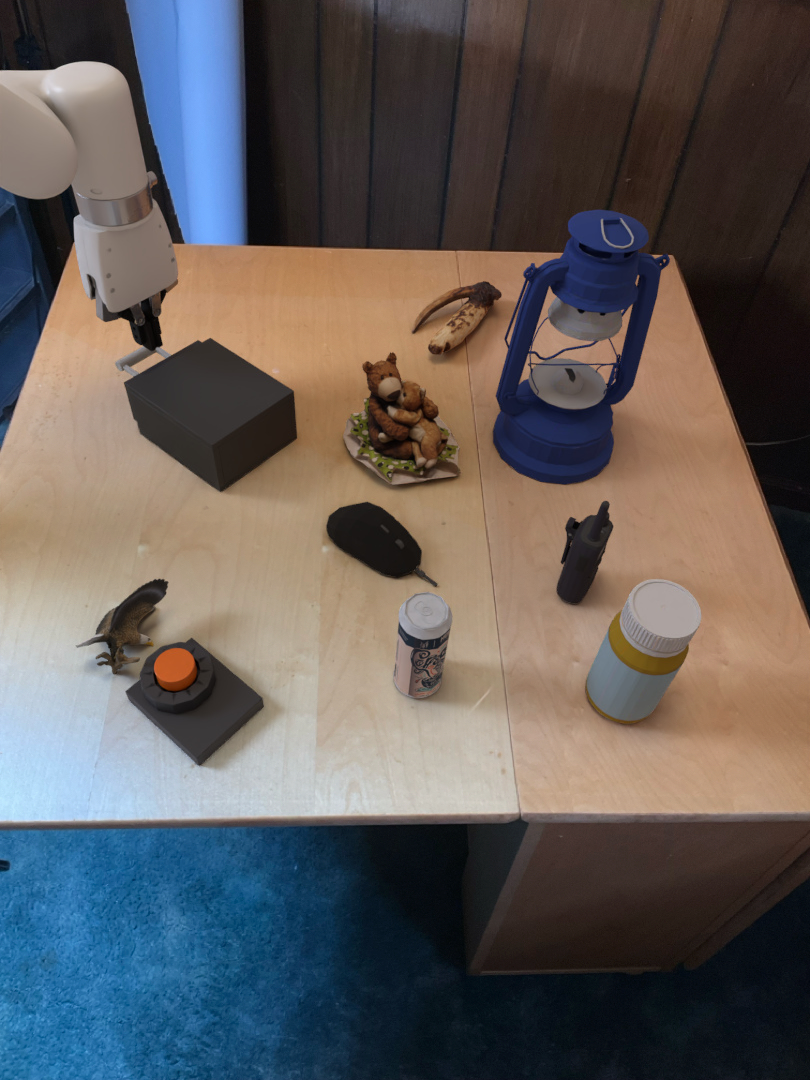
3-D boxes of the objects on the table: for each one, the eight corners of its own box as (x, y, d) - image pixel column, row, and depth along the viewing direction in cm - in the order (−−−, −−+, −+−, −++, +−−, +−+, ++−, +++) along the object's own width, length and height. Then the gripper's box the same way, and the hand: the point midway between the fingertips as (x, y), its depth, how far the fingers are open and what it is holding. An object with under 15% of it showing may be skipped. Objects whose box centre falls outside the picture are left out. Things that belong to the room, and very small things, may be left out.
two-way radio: (578, 612, 86) (614, 519, 74) (540, 594, 87) (569, 500, 75) (596, 576, 89) (633, 482, 77) (559, 559, 90) (590, 464, 78)
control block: (126, 698, 76) (118, 680, 74) (192, 644, 80) (187, 625, 78) (199, 766, 72) (193, 749, 70) (264, 706, 77) (261, 688, 74)
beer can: (418, 710, 77) (428, 643, 68) (382, 679, 79) (387, 610, 70) (451, 678, 80) (464, 609, 70) (415, 649, 81) (424, 578, 72)
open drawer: (103, 397, 101) (92, 360, 97) (174, 356, 107) (167, 319, 103) (207, 472, 94) (200, 436, 90) (277, 424, 100) (274, 388, 96)
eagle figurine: (170, 674, 77) (189, 589, 81) (112, 649, 72) (135, 559, 76) (115, 684, 80) (135, 602, 85) (56, 659, 75) (81, 573, 79)
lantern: (504, 491, 96) (553, 266, 73) (471, 407, 105) (506, 184, 82) (637, 475, 99) (725, 254, 76) (594, 395, 108) (661, 176, 85)
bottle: (612, 651, 83) (656, 561, 71) (668, 697, 80) (723, 611, 68) (569, 690, 79) (607, 603, 68) (625, 740, 76) (675, 658, 65)
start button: (149, 675, 74) (145, 665, 73) (179, 650, 76) (176, 640, 75) (174, 698, 73) (171, 689, 72) (205, 672, 75) (202, 663, 74)
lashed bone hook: (451, 290, 123) (392, 348, 113) (454, 261, 120) (393, 318, 109) (507, 308, 120) (451, 369, 110) (511, 279, 117) (454, 340, 106)
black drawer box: (139, 433, 99) (126, 385, 93) (217, 385, 106) (210, 337, 100) (220, 492, 94) (211, 445, 88) (297, 438, 100) (294, 390, 94)
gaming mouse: (418, 604, 85) (421, 582, 82) (315, 533, 90) (314, 509, 87) (454, 568, 88) (458, 546, 85) (352, 502, 94) (352, 478, 91)
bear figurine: (375, 504, 94) (378, 426, 84) (329, 422, 102) (328, 343, 93) (479, 474, 98) (493, 396, 88) (427, 397, 106) (434, 319, 97)
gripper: (148, 162, 89) (177, 305, 103) (30, 212, 81) (78, 358, 96) (194, 186, 86) (217, 329, 100) (75, 240, 79) (118, 387, 93)
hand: (149, 343), depth 98 cm, fingers closed
